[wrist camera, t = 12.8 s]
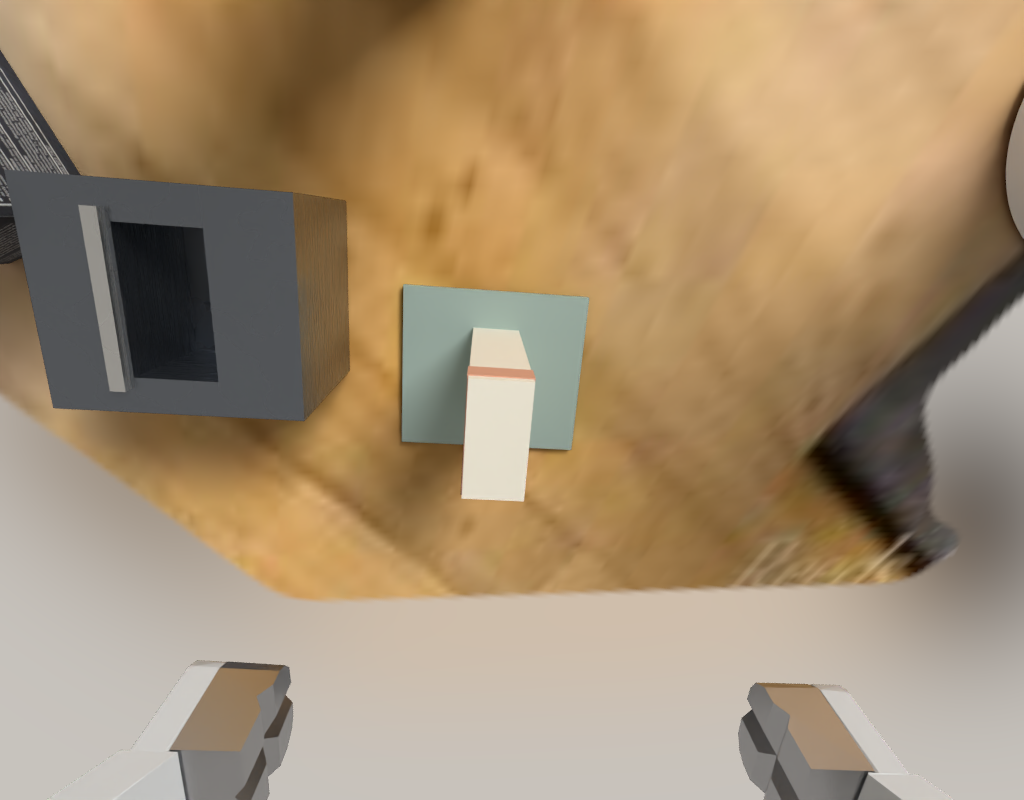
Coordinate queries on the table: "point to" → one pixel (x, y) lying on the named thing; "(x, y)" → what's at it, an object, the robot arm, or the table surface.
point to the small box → (22, 151)
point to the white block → (497, 417)
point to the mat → (447, 349)
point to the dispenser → (184, 295)
